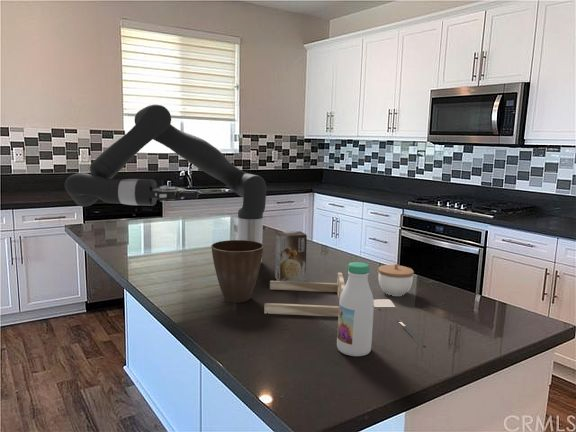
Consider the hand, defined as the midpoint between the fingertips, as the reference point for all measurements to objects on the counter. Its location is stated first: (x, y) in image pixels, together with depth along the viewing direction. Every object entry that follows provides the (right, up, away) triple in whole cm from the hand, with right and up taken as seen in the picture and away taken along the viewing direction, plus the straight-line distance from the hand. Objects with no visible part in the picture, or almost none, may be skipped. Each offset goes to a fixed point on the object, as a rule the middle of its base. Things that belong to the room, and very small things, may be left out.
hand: (197, 194), depth 132 cm
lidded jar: (+59, -31, +12) cm, 68 cm away
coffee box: (+27, -28, +22) cm, 44 cm away
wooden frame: (+31, -31, +2) cm, 44 cm away
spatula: (+55, -35, -11) cm, 66 cm away
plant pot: (+11, -31, +3) cm, 33 cm away
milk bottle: (+41, -37, -28) cm, 62 cm away
